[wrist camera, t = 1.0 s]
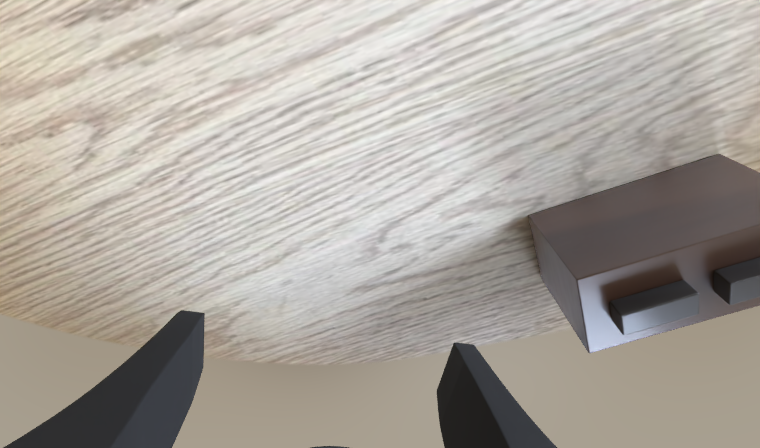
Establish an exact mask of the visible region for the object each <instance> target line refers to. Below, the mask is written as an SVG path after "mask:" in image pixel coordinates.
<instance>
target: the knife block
mask: <svg viewBox="0 0 760 448" xmlns="http://www.w3.org/2000/svg"><path fill="white" fill-rule="evenodd" d="M529 221H530V226H531V231H532V235H533V240H534V245H535V249H536V254H537V259H538V263H539V268H540V273H541V277H542V280H543V282H544V283H545V285H546V286H547V288H548V290H549V291H550V293H551V294H552V296H553V297H554V299H555V301H556V302H557V304H558V305H559V307H560V309H561V310H562V312H563V313H564V315H565V316H566V318H567V320H568V321H569V323H570V324H571V326H572V327H573V329H574V331H575V332H576V334H577V335H578V337H579V339H580V340H581V342H582V343H583V345H584V346H585V348H586V350H587V351H588V352H589V353H592V352H595V351H599V350H603V349H606V348H610V347H614V346H617V345H621V344H624V343H627V342H631V341H635V340H638V339H642V338H645V337H649V336H653V335H656V334H660V333H663V332H667V331H670V330H674V329H677V328H680V327H684V326H688V325H691V324H695V323H699V322H702V321H706V320H709V319H713V318H716V317H720V316H724V315H727V314H731V313H734V312H738V311H741V310H745V309H748V308H752V307H755V306H759V305H760V173H759V172H757V171H755V170H753V169H751V168H749V167H747V166H744V165H742V164H740V163H738V162H736V161H734V160H732V159H729V158H727V157H725V156H723V155H721V154H717V155H714V156H711V157H708V158H705V159H702V160H699V161H696V162H692V163H689V164H686V165H683V166H680V167H677V168H674V169H671V170H668V171H665V172H661V173H658V174H655V175H652V176H649V177H646V178H643V179H640V180H637V181H633V182H630V183H627V184H624V185H621V186H618V187H615V188H612V189H609V190H606V191H602V192H599V193H596V194H593V195H590V196H587V197H584V198H581V199H578V200H574V201H571V202H568V203H565V204H562V205H559V206H556V207H553V208H550V209H547V210H543V211H540V212H537V213H534V214H531V215H529Z"/></svg>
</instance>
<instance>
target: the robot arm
mask: <svg viewBox="0 0 760 448" xmlns="http://www.w3.org/2000/svg"><path fill="white" fill-rule="evenodd" d="M203 355H204V313H199V312H191V311H183V310H181V311H180V312H178V313H177V314H176V315H175V316H174V317H173V318H172V319H171V320H170V321H169V322H168V323H167V324H166V325H165V326H164V327H163V328H162V329H161V330H160V331H159V332H158V333H157V334H156V335H154V336H153V337H152V338H151V339H150V340H149V341H148V342H147V343H146V344H145V345H144V346H143V347H141V348H140V349H139V350H138V351H137V352H136V353H135V354H134V355H132V356H131V357H130V358H129V359H128V360H127V361H126V362H125V363H123V364H122V365H121V366H120V367H119V368H117V369H116V370H115V371H114V372H112V373H111V374H110V375H109V376H107V377H106V378H105V379H104V380H102V381H101V382H100V383H99V384H97V385H96V386H95V387H94V388H92V389H91V390H90V391H88V392H87V393H86V394H84V395H83V396H82V397H80V398H79V399H78V400H76V401H75V402H73V403H72V404H71V405H69V406H68V407H66V408H65V409H63V410H62V411H61V412H59V413H58V414H56V415H55V416H53V417H52V418H50V419H49V420H47V421H46V422H44V423H42V424H41V425H40V426H38V427H36V428H35V429H33V430H31V431H30V432H28V433H27V434H25V435H24V436H22V437H20V438H19V439H17V440H15V441H14V442H12V443H11V444H9V445H7V446H5V447H4V448H172V446H173V444H174V442H175V440H176V437H177V435H178V433H179V431H180V428H181V426H182V424H183V422H184V419H185V417H186V415H187V412H188V410H189V408H190V406H191V404H192V401H193V398H194V395H195V392H196V389H197V385H198V382H199V379H200V376H201V373H202V369H203ZM437 400H438V412H439V421H440V428H441V432H442V437H443V442H444V446H445V448H557V447H556V446H555V445H554V444H553V443H552V442H551V441H550V440H549V439H548V438H547V436H546V435H545V434H544V433H543V432H542V431H541V430H540V429H539V428H538V426H537V425H536V424H535V423H534V422H533V421H532V420H531V418H530V417H529V416H528V415H527V414H526V412H525V411H524V410H523V409H522V408H521V406H520V405H519V404H518V403H517V401H516V400H515V399H514V398H513V396H512V395H511V394H510V393H509V391H508V390H507V389H506V387H505V386H504V385H503V384H502V382H501V381H500V380H499V378H498V377H497V376H496V374H495V373H494V372H493V370H492V369H491V367H490V366H489V365H488V363H487V362H486V361H485V359H484V358H483V357H482V355H481V354H480V353H479V351H478V350H477V349H476V347H475V346H474V345H471V344H462V343H454V344H453V347H452V350H451V353H450V356H449V358H448V361H447V364H446V367H445V369H444V372H443V375H442V378H441V381H440V383H439V386H438V389H437Z"/></svg>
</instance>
